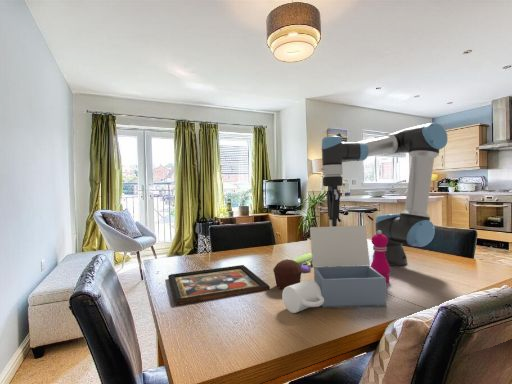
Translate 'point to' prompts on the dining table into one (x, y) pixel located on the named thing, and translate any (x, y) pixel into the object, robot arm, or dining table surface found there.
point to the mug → (302, 296)
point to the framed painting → (214, 284)
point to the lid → (339, 246)
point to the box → (351, 286)
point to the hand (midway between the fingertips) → (333, 235)
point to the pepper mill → (380, 255)
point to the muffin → (287, 273)
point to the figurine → (303, 259)
